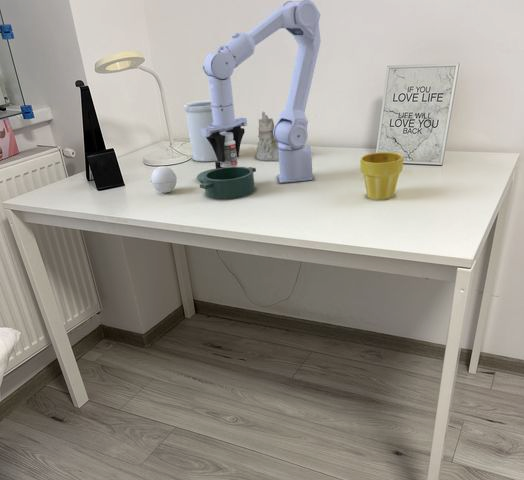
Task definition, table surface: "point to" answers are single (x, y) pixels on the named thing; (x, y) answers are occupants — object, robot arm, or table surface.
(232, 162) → the pill bottle
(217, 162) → the lid
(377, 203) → the table surface
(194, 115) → the utensil holder
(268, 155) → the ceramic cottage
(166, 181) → the white rounded ovoid
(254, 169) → the pot
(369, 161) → the flower pot
